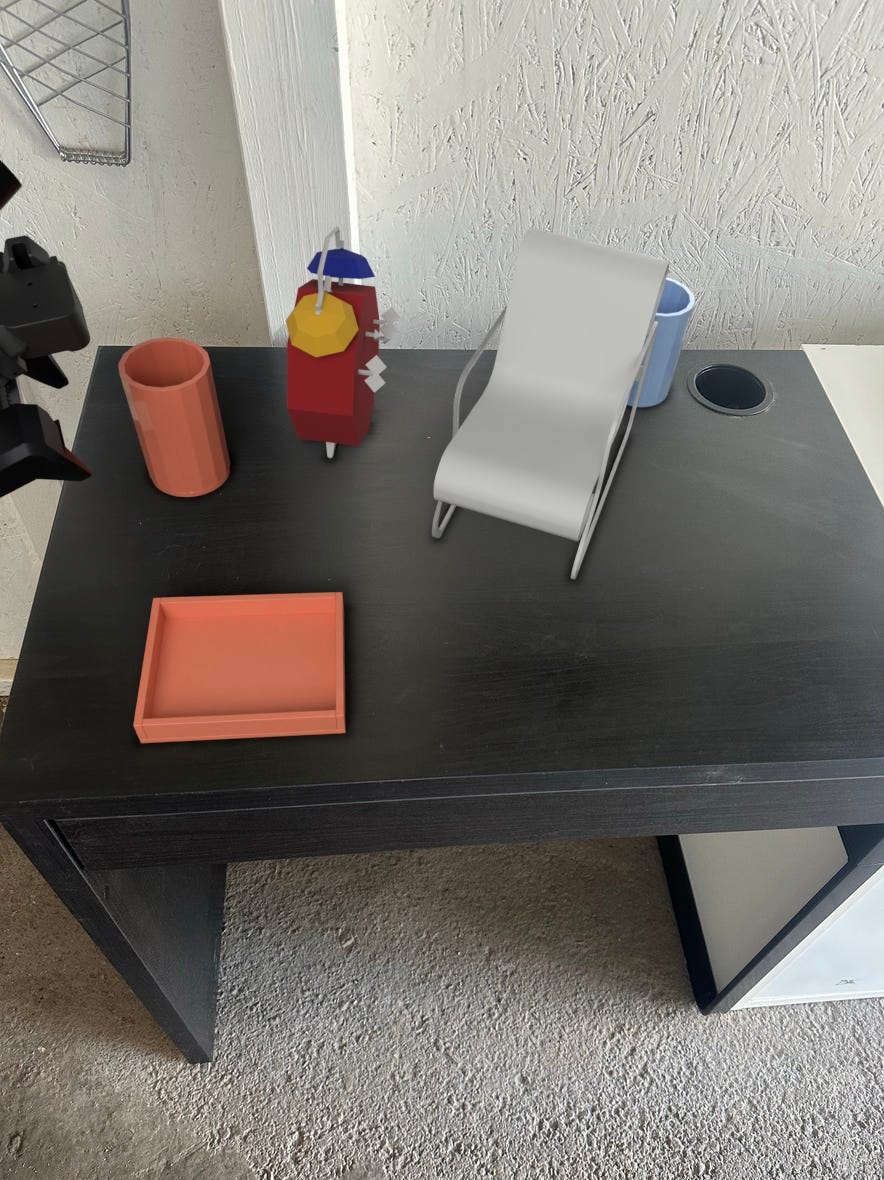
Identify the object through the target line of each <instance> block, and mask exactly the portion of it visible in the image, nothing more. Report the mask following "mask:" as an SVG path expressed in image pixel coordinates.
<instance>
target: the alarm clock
mask: <svg viewBox="0 0 884 1180" xmlns="http://www.w3.org/2000/svg"><path fill="white" fill-rule="evenodd" d="M333 236H334V238H335V239H334V240H335V247H336V248H333V249H329V247H330V241H331V239H332V237H333ZM306 269H307V270H308V272H309V273H310V274H314V275H317V279H316V278H312V279H310V280H309V281H307V282H305V283H304V284H302V285H301V286H298V287H297V291H296V292H297V293H296V298H295V302H294V308H293V309H292V311H291V312H290V313H289V315H288V317H286V319H285V323H286V324H285V325H286V328H287V331H288V338H287V342H286V378H287V379H286V380H287V381H286V382H287V384H286V385H287V386H286V387H287V388H286V389H287V391H286V393H287V394H286V395H287V396H286V397H287V405H286V406H287V407H286V409H287V411H288V414H289V417H290V419H291V420H290V421H291V422H292V425H293V428H294V431H295V434H296V437H297V439H298V440H307V441H313V442H314V441H316V442H322V443H323V442H324V443H325V447H326V455H327V458H329V459H332V458H334V456H335V451H336V448H337V447H336V446H337V444H338V445H339V444H340V445H347V446H355V447H359V446H360V445H361V444H362V442H363V440H364V439H365V437H366V435H367V433H368V432H369V430H370V425H371V420H372V415H373V408H374V403H375V402H374V401H375V397H376V392H378V391H379V390H380V389H381V388H382V387H383V386H385V384H386V382H385V381H384V379H383V378H382V376H381V375H380V374H381V373H382V372H383V371H385V370H386V369H387V366H386V364H385V363H384V362H383V361H382V359H381V358H380V357H379V351H380V341H382V344H384V345H386V344H387V343H388V342H390V341H391V338H392V337H393V336H395V335H396V334H397V333H399V330H398V328H396V326H395V325H394V323H396V322H397V321H399V320H400V319H401V316H400V315H399V314H398V313H397V311H396V310H395V309H394V308H393V307H390V308H389V309H387V310H386V311H384V312H383V313H382V314H381V315H380V312H379V305H378V298H377V291H376V286H375V285H374V286H373V285H367V284H366V285H365V284H359V283H358V284H357V283H348V282H344V279H350V280H351V279H353V280H354V279H355V280H364V279H371V278H376V276H375V273H374V271H373V269H372V268H371V265H370V263H369V260H368V259H367V257H365V256H364V255H363V254H360V253H357V252H354V251H352V250H349V249H346V248H345V240H343V239H341V231H340V227H339V226H338V225H336V226H335V227H334V228H333V229H332V230H331V231H330V232H329V234H327V235H326V236H325V238H324V242H323V247H322V251H316V253H315V254H314V255H313V257H312V260H311V261H310V262H309V264H308V266H307V267H306ZM333 278H334V279H335V278H336V279H338V281H332V279H333ZM380 317H381V318H382V319H383V320H382V319H380ZM382 335H383V336H382Z"/></svg>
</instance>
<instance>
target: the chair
mask: <svg viewBox="0 0 884 1180" xmlns="http://www.w3.org/2000/svg"><path fill="white" fill-rule="evenodd" d="M516 258H517V259H516V262H515V267H514V271H513V275H512V280H511V285H510V288H509V289H510V290H509V293H508V294H509V295H508V299H507V304H506V305H505V307H504V309H503V310H502V312H501V313H500V314H499V316H498V318H497V319H496V321H495V322H494V324H493V325H492V326H491V328H490V330H489V331H488V333H487V334H486V335H485V337H484V338H483V340H482V341H481V343H480V344H479V346H478V347H477V349H476V350H475V352H474V353H473V355H472V356H471V358H470V359H469V361H468V362H467V364H466V365H465V367H464V368H463V371H462V373H461V375H460V376H459V379H458V382H457V385H456V389H455V393H454V394H455V395H454V398H453V412H452V439H451V440H450V442H449V443H448V445H447V446H446V448H445V450H444V451H443V453H442V456H441V458H440V461H439V464H438V467H437V470H436V474H435V478H434V483H433V499H434V500H435V501H437V504H436V506H435V507H436V508H435V511H434V516H433V518H432V519H433V520H432V526H431V536H432V537H433V538H435V539H440V538H441V537H442V535H443V532H445V529H446V527H447V525H448V524H449V522H450V519H451V518H452V516H453V513H454V511H455V510H456V508H457V507H459V508H463V509H466V510H468V511H471V512H475V513H480V514H483V515H487V516H489V517H493V518H497V519H500V520H503V521H507V522H510V523H513V524H517V525H520V526H525V527H527V528H530V529H533V530H536V531H541V532H544V533H547V534H550V535H554V536H557V537H562V538H565V539H568V540H571V541H574V542H579V541H580V542H579V545H578V549H577V552H576V555H575V559H574V562H573V566H572V569H571V574H570V579H571V580H576V579H577V576H578V574H579V571H580V568H581V566H582V564H583V560H584V558H585V555H586V553H587V550H588V547H589V544H590V541H591V539H592V536H593V533H594V531H595V528H596V525H597V522H598V520H599V518H600V515H601V512H602V510H603V507H604V504H605V501H606V499H607V496H608V494H609V490H610V488H611V485H612V482H613V480H614V477H615V474H616V471H617V469H618V466H619V463H620V461H621V458H622V457H623V456H622V455H623V453H624V450H625V448H626V445H627V442H628V439H629V436H630V434H631V430H632V427H633V423H634V420H635V415H636V411H637V408H638V407H637V404H638V400H639V397H640V393H641V389H642V385H643V381H644V378H645V374H646V370H647V366H648V362H649V359H650V355H651V351H652V347H653V343H654V339H655V335H656V331H657V327H658V322H657V321H654V318H655V315H656V312H657V309H658V306H659V303H660V300H661V296H662V293H663V289H664V286H665V282H666V278H668V274H669V270H670V266H671V265H670V264H671V261H670V260H667V259H663V258H658V257H654V256H650V255H647V254H642V253H638V252H634V251H630V250H625V249H622V248H618V247H613V246H610V245H605V244H602V243H597V242H593V241H589V240H585V239H581V238H577V237H572V236H569V235H566V234H565V235H564V234H560V233H556V232H552V231H548V230H544V229H539V228H536V227H532V226H530V227H528V228H527V230H526V232H525V234H524V236H523V239H522V242H521V244H520V248H519V251H518V254H517V257H516ZM653 321H654V323H653ZM652 324H653V325H652ZM501 325H502V328H501V332H500V337H499V341H498V347H497V352H496V356H495V362H494V365H493V369H492V372H491V376H490V378H489V380H488V383H487V386H486V387H485V389H484V391H483V392H482V394H481V396H480V397H479V399H478V400H477V402H476V403H475V405H474V406H473V407H472V409H471V411H470V412H469V413H468V415H467V417H466V418H465V420H464V421H463V423H462V424H461V425H460V426H459V423H460V405H461V397H462V393H463V389H464V385H465V383H466V380H467V378H468V376H469V375H470V372H471V371H472V369H473V368H474V366H475V365H476V363H477V362H478V360H479V359H480V357H481V355H482V354H483V352H484V351H485V350H486V348H487V347H488V345H489V343H490V342H491V340H492V339H493V337H494V336H495V334H496V332H497V331H498V330H499V328H500V326H501ZM651 326H652V328H651ZM650 329H651V330H650ZM649 331H650V333H649ZM648 334H649V335H648ZM647 336H648V337H647ZM646 337H647V340H646V342H645V338H646ZM644 342H645V345H644ZM643 346H644V347H643ZM647 349H648V350H647ZM646 352H647V354H646ZM645 354H646V358H645V362H644V366H641V364H642V362H643V359H644V357H645ZM642 368H643V370H642ZM641 372H642V374H641ZM640 376H641V377H640ZM639 380H640V381H639ZM634 381H637V382H639V385H638V389H637V393H636V397H635V401H634V404H633V406H632V407H631V412H630V417H629V421H628V424H627V427H626V431H625V434H624V437H623V438H622V442H621V445H620V448H619V450H618V452H617V455H616V458H615V461H614V463H613V466H612V469H611V471H610V474H609V477H608V479H607V482H606V485H605V487H604V490H603V492H602V495H601V497H600V494H601V490H602V487H603V482H604V479H605V475H606V470H607V465H608V462H609V457H610V453H611V448H612V446H613V443H614V441H615V438H616V436H617V434H618V431H619V428H620V426H621V423H622V421H623V417H624V415H625V412H626V408H627V406H628V405H627V402H628V398H629V395H630V391H631V389H632V386H633V384H634ZM595 486H596V489H595ZM594 489H595V492H594ZM593 492H594V493H593ZM599 498H600V500H599ZM598 500H599V502H598ZM443 503H445V504H449V505H450V506H449V509H448V510H447V512H446V514H445V516H444V517H443V520H442V521H441V524H440V526H439V522H440V514H441V511H442V507H443ZM597 505H598V506H597ZM596 507H597V508H596ZM595 511H596V512H595Z"/></svg>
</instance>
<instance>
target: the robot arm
mask: <svg viewBox="0 0 884 1180" xmlns="http://www.w3.org/2000/svg"><path fill="white" fill-rule="evenodd" d="M22 188H23V185H22V183H21V181H20V180H19V179H18V177H17V176H16V175H15V174H14V172H13V171H12V170H11V169H10V168H9V167H8V166H7V165H6V164H5V163H4V162H3V161H2V159H0V212H1V211H2V209H4V207H5V206H6V205H7V204H8V203H9V202H10V201H11V200H12V199H13V197H14V196H15V195H16V194H17V193H18V192H19V191H20V190H21V189H22ZM76 291H77V290H76V289H75V287H74V285H73V282H72V280H71V277H70V276H69V272H68V268H67V265H66V264H65V263H64V262H63V261H62V260H59V259H58V257H57V255H52V256H50V254H49V253H48V251H47V250H46V249H45V248H44V247H42V246H41V245H40V244H38V243H37V242H36V241H35V240H33V239H32V238H31V237H29V236H28V235H26V234H25V235H19V236H14V237H9V238H8V237H7V238H6V239H5V240H4V247H3V251H0V499H1V498H3V497H6V496H7V495H9V494H11V493H13V492H15V491H17V490H19V489H21V488H23V487H25V486H27V485H28V484H31V483H32V482H35V481H36V480H44V481H45V480H46V481H47V480H49V481H63V482H64V481H65V482H83V481H85V480H87V479H89V478H91V477H92V476H93V475H92V471H91V470H90V468H89V467H88V466H87V465H86V464H85V463H84V462H83V461H82V460H81V459H80V458H78V456H77V455H75V454H74V453H73V452H72V451H71V450H70V449H69V448H68V447H66V441H65V439H64V435H63V430H62V426H61V421H60V419H59V418H57V419H55V420H54V419H53V418H52V416H51V414H50V413H49V412H48V411H47V410H46V409H44V408H43V407H41V406H40V405H39V404H35V403H25V402H24V398H23V393H22V388H21V384H20V379H19V377H21V376H22V375H24V376H26V377H27V378H29V379H32V380H34V381H36V382H38V383H41V384H43V385H45V386H48V387H51V388H54V389H56V390H61V389H63V388H65V387H66V386H68V385H69V384H70V381H69V378H68V377H67V375H66V374H65V373H64V371H63V369H62V368H61V366H60V365H59V363H58V362H57V360H56V359H55V358H54V356H53V355H54V354H58V353H59V354H60V353H63V352H71V353H74V352H78V351H82V350H84V349H86V348H87V347H88V345H89V344H90V342H91V334H90V331H89V328H88V324H87V321H86V317H85V313H84V308H83V305H82V303H81V300H80V298H79V295H78V293H77V292H76Z"/></svg>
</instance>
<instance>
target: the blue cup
mask: <svg viewBox="0 0 884 1180" xmlns="http://www.w3.org/2000/svg"><path fill="white" fill-rule="evenodd" d="M695 304H696V301H695V295H694V293H693V292H692V291H691V289H689V287H688V286H686V285H685V284H683V283H682V282H680V281H678V280H676V279H674V278H669V277H667V278H666V282H665V286H664V289H663V293H662V296H661V300H660V303H659V306H658V309H657V312H656V315H655V318H654V321H657V322H658V327H657V331H656V335H655V339H654V343H653V347H652V351H651V355H650V359H649V362H648V366H647V370H646V374H645V378H644V381H643V385H642V389H641V393H640V397H639V400H638V404H637V408H648V407H649V408H650V407H653V406H656V405H659V404H661V403H662V402H663V401H664V400H665V399H666V398H667V397H668V394H669V391H670V390H671V386H672V383H673V379H674V376H675V372H676V369H677V366H678V362H679V359H680V356H681V352H682V348H683V345H684V342H685V338H686V335H687V332H688V328H689V324H690V321H691V318H692V314H693V311H694V308H695ZM654 321H653V323H654ZM652 325H653V324H652ZM651 328H652V326H651ZM650 330H651V329H650ZM649 333H650V331H649ZM648 335H649V334H648ZM647 337H648V336H647ZM647 337H646V338H645V342H646V340H647ZM645 342H644V345H645ZM643 347H644V346H643ZM647 350H648V349H647ZM646 354H647V352H646ZM646 354H645V357H644V359H643V362H642V364H641V366H644V362H645V358H646ZM642 370H643V368H642ZM641 374H642V372H641ZM640 377H641V376H640ZM639 381H640V380H639ZM638 385H639V382H637V381H634V384H633V386H632V389H631V391H630V395H629V398H628V402H627V405H626V406H629V407H633V404H634V401H635V397H636V393H637V389H638Z"/></svg>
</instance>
